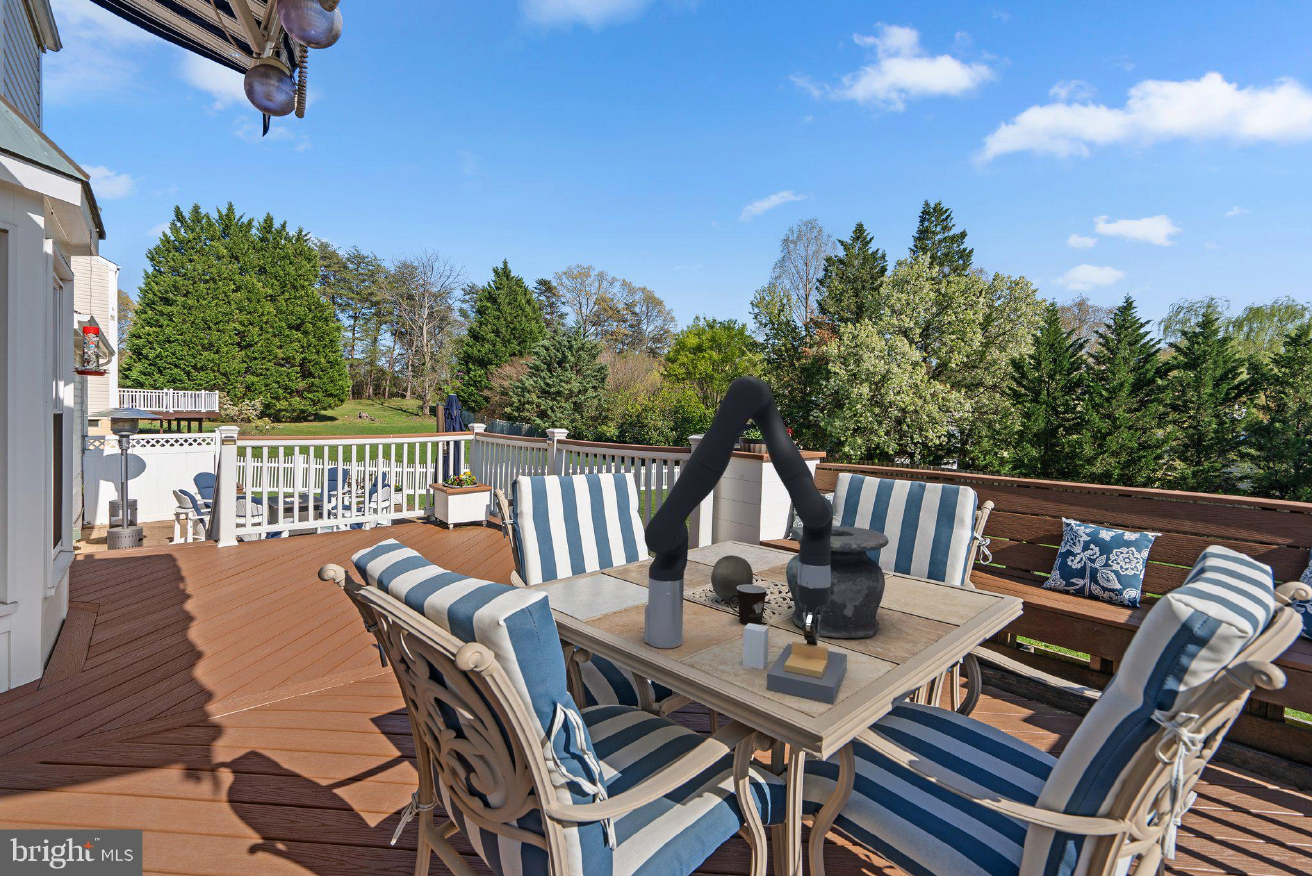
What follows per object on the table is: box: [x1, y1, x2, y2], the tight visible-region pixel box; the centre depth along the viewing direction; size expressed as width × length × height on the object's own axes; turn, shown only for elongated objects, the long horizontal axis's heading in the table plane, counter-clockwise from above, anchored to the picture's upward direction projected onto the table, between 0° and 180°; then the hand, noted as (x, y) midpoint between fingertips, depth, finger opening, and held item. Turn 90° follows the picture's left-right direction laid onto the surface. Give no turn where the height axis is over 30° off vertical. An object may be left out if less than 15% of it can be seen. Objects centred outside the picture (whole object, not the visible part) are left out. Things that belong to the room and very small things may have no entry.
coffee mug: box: [727, 584, 767, 626], centre depth 169 cm, size 12×9×10 cm
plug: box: [742, 623, 770, 670], centre depth 139 cm, size 5×4×9 cm
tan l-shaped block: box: [784, 641, 829, 678], centre depth 129 cm, size 8×8×4 cm
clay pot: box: [785, 525, 890, 639], centre depth 170 cm, size 29×30×30 cm
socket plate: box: [766, 643, 848, 705], centre depth 132 cm, size 14×20×4 cm
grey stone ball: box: [710, 554, 754, 603], centre depth 189 cm, size 14×14×15 cm
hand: (811, 655), depth 135 cm, fingers closed
